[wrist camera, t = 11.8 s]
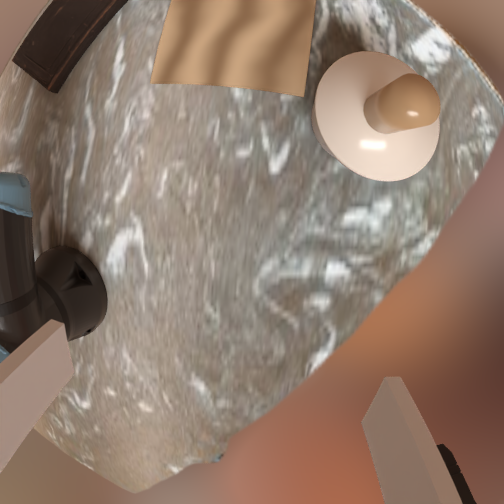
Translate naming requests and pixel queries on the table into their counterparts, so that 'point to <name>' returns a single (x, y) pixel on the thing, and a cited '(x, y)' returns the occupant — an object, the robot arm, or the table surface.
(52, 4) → the hardcover book
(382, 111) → the lid
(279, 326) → the table surface
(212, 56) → the mat
